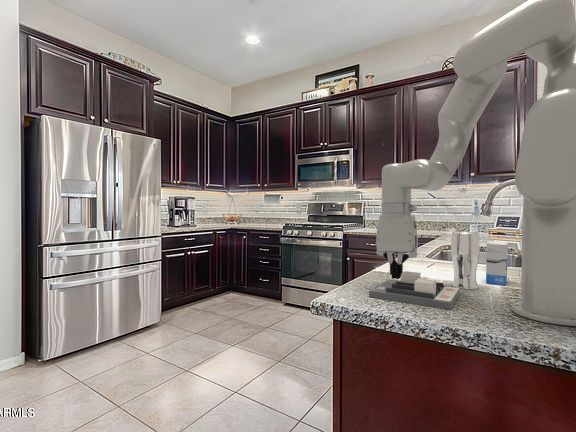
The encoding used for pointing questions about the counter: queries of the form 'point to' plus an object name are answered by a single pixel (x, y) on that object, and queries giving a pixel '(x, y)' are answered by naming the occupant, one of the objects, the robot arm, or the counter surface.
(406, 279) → the tab
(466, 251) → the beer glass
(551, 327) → the counter surface
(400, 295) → the switch panel
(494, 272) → the ink box
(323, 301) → the counter surface
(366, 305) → the counter surface
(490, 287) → the counter surface
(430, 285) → the tab
